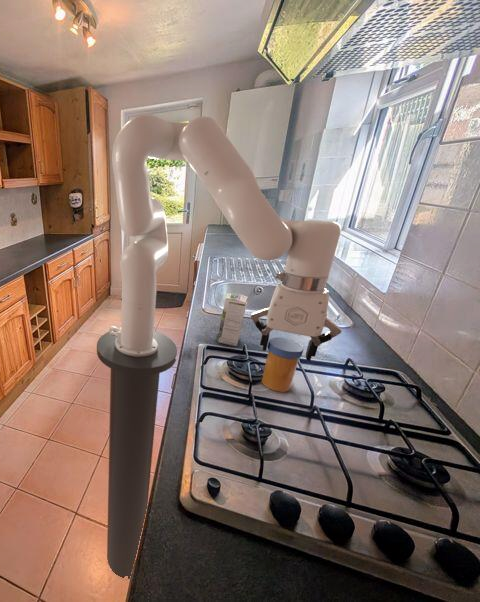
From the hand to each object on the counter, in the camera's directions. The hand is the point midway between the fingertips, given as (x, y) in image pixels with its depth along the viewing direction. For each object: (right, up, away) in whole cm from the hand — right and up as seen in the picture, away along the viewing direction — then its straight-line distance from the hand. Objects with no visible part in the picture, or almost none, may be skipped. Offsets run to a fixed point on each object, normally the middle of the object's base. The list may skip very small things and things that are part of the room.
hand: (285, 352), depth 70 cm
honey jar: (0, -8, +3) cm, 9 cm away
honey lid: (0, +2, -1) cm, 2 cm away
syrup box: (-2, -1, +23) cm, 23 cm away
